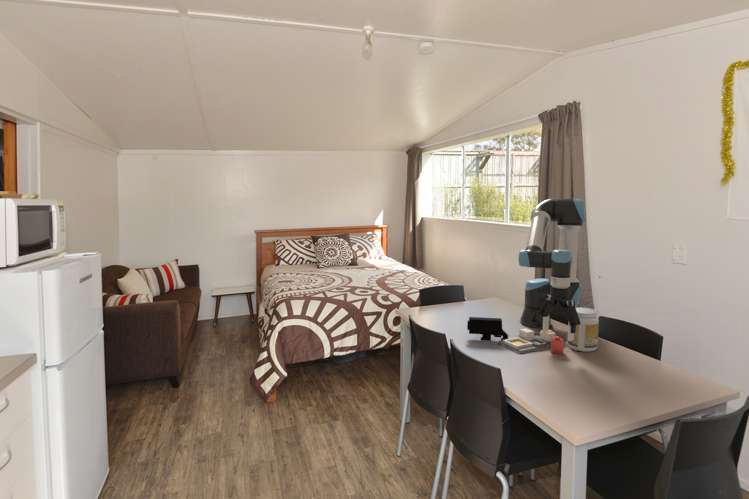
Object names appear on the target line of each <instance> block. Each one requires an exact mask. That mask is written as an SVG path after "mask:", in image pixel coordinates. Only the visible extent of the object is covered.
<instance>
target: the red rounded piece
mask: <svg viewBox="0 0 749 499" xmlns="http://www.w3.org/2000/svg"><path fill="white" fill-rule="evenodd" d="M564 345H565V340H564V338H562V337H561V336H557V335H555V337H554V338H551V347H550V353H551V354H552V355H556V356H561V355H564Z"/></svg>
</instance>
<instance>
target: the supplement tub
mask: <svg viewBox="0 0 749 499" xmlns="http://www.w3.org/2000/svg"><path fill="white" fill-rule="evenodd" d="M575 308H576V311H577V314H578V317H579V320H580V323H581V324H580V325H576V330H575V333H574V340H572V341H568V340H567V342H566V343H567V346H568V347H569V348H571V349H573V350H575V351H579V352H584V353H585V352H594V351H596V350H598V343H599V327H600V326H599V323H600V320H599V318H598V311H597V310H596V309H593V308H590V307H582V306H581V307H578V306H577V307H575ZM567 324H568V325H570V323H569V322H568V323H567ZM568 325H567V326H568Z"/></svg>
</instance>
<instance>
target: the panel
mask: <svg viewBox="0 0 749 499" xmlns="http://www.w3.org/2000/svg"><path fill="white" fill-rule="evenodd" d="M498 344H499V345H502V346H504V347H505V348H508V349H510V350H512V351H515V352H517V353H519V354H525V353H529V352H535V351H540V350H544V349H551V342H548V341H545V340H543V339H540V331H539V332H536V331H534V340H531V341H528V340H526V339H523V338H521V337H519V334H518V335H516V337H511V338H508V339H505V340H501V339H500V340H498Z"/></svg>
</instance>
